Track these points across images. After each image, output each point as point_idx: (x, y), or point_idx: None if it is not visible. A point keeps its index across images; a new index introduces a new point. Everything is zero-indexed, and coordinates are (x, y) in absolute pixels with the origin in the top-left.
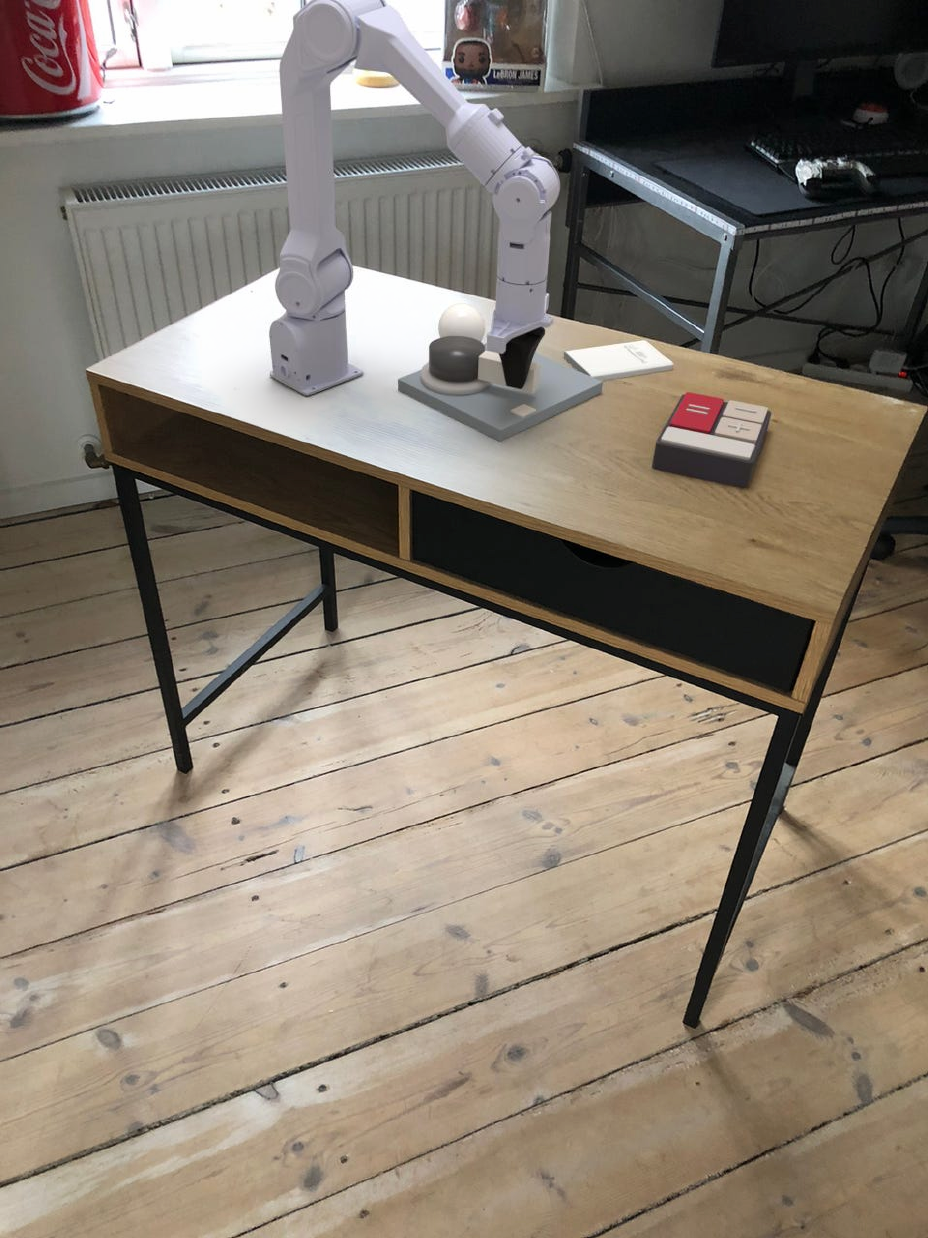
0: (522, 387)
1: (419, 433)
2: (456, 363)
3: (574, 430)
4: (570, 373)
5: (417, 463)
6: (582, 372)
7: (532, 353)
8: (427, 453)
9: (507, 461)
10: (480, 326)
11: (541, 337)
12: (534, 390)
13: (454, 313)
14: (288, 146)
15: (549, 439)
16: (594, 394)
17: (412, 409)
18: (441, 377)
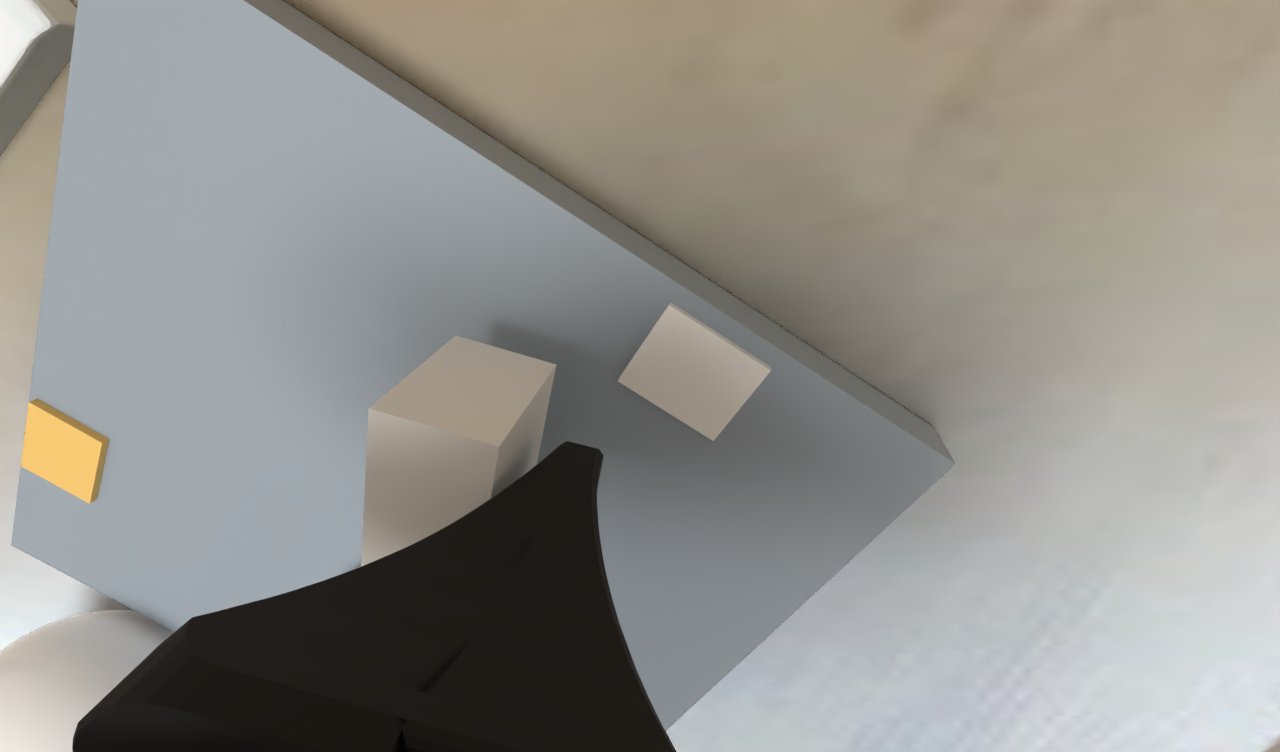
0: (585, 446)
1: (893, 718)
2: None
3: (718, 21)
4: (121, 164)
5: (1171, 713)
6: (24, 100)
7: (485, 587)
8: (1075, 687)
9: (1165, 366)
10: (45, 690)
11: (337, 686)
12: (529, 359)
13: None
14: None
15: (868, 168)
16: None
17: (697, 745)
18: None
